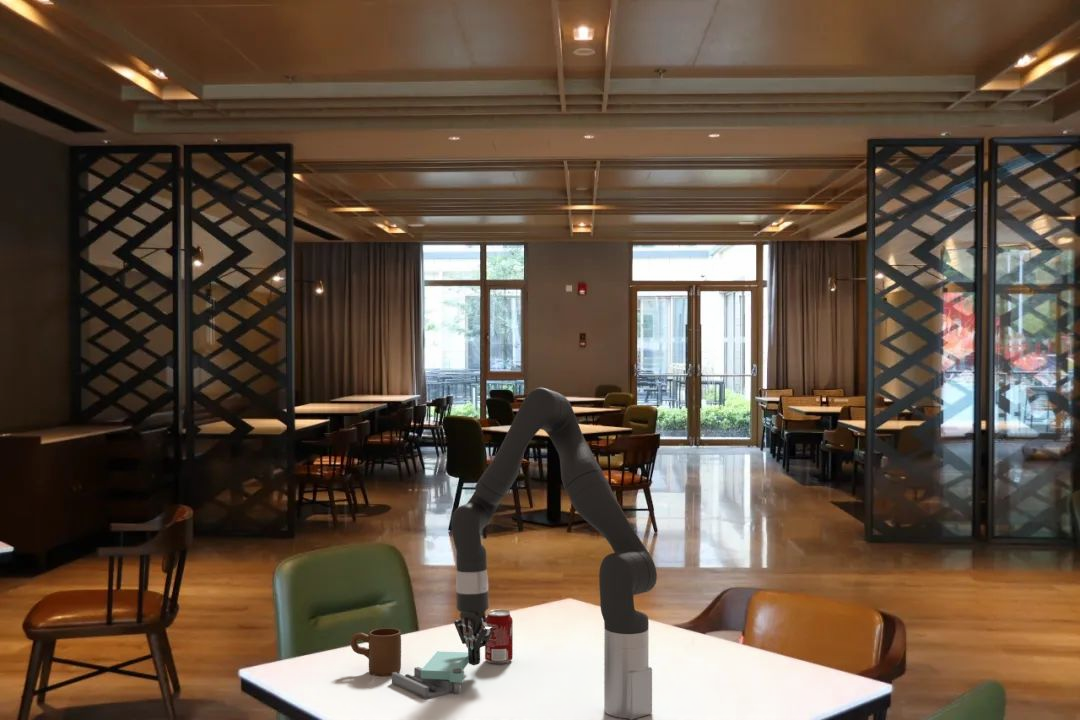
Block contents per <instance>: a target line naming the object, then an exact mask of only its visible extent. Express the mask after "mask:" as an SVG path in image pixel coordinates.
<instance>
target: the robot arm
mask: <svg viewBox="0 0 1080 720" xmlns="http://www.w3.org/2000/svg"><path fill="white" fill-rule="evenodd" d="M540 430H543V431H544V432H545V433H546V434H547V436H549V439H550V440H551V442H552V444H553V446H554V448H555V450H556V452H557V453H558V457H559V465H560V466H559V467H560V477H561V481H562V485H563V488H564V491H565V492H566V495H567V496H568V498H569V499H568V500H570V502H571V504H572V506H573V508H574V510H575V511H576V513H578V515H579V516H581V518H583V520H584V521H586V522H587V523H588V524H589V525H591V527H592V528H594V529H595V530H597V532H598V533H600V534H601V536H603V537H604V538H605V540H606V541H607V542H608V544H609V545H610V547H611V549H612V550H613V552H612V553H609V554H606V556H605V557H604V558H603V559H602V561H601V563H600V567H599V573H598V577H599V578H598V582H599V583H598V584H599V603H600V612H601V616H602V619H603V626H604V628H603V630H604V633H603V634H604V635H603V637H604V639H603V640H604V643H603V644H604V645H603V646H604V648H603V650H604V651H603V653H604V654H603V655H604V658H603V659H604V664H603V665H604V670H603V671H604V675H603V677H604V678H603V679H604V681H603V683H604V688H603V690H604V693H603V695H604V707H603V708H604V709H603V710H604V713H605V714H607V715H609V716H612V717H614V718H621V719H628V720H636V719H639V718H642V717H645V716H648V715H651V714H652V715H653V669H652V667H651V666H649V643H650V642H649V637H650V636H649V629H650V628H649V616H648V614H646V613H645V612H643V611H640V610H637V609H635V603H634V602H635V601H634V596H636V595H641V594H644V593H648V592H650V591H652V590H653V588H654V587H655V586H656V584H657V580H658V579H657V577H658V574H657V568H656V564H655V562H654V559H653V558H652V556H651V555H650V553H649V551H648V549H647V548H646V547H645V545H644V543H643V541H642V540H641V539H640V537H639V536H638V534H637V533H636V531H635V529H634V528H633V526H632V525H631V523H630V521H629V519H628V518H627V517H626V514H625V512H624V511H623V509H622V507H621V505H620V504H619V502H618V500H617V498H616V496H615V494H614V492H613V490H612V488H611V485H610V483H609V481H608V480H607V478H606V476H605V474H604V472H603V470H602V468H601V466H600V465H599V463H598V461H597V459H596V457H595V456H594V453H593V452H592V450H591V448H590V446H589V444H588V443H587V440H586V439H585V437H584V434H583V433H582V430H581V427H580V425H579V421H578V420H577V417H576V413H575V412H574V409H573V407H572V404H571V403H570V401H569V399H567V397H566V396H565V395H563V394H561V393H559V392H557V391H554V390H551V389H549V388H544V387H537V388H534V389H532V390H531V391H529V392H528V393H527V395H526V396H525V397H524V399H523V400H522V403H521V404H520V406H519V408H518V410H517V412H516V415H515V416H514V418H513V421H512V422H511V425H510V427H509V429H508V431H507V432H506V435H505V437H504V439H503V441H502V443H501V445H500V447H499V448H498V449H497V450H498V451H497V452H496V454H495V455H494V457H493V458H492V460H491V462H490V463H489V465H488V466H487V467H486V469H485V471H483V473H482V474H481V476H480V478H479V479H478V481H477V482H476V484H475V487H474V490H475V491H474V492H473V494H472V496H471V497H470V498H469V500H468V502H467V503H465V504H462V505H460V506H458V507H457V508H456V509H455V510H454V511H453V513H452V516H451V521H450V522H451V524H450V525H451V533H452V538H453V539H452V540H453V543H454V547H455V550H456V551H455V552H456V555H455V556H456V575H455V576H456V578H455V591H456V592H455V596H456V610H457V611H458V612H460V613H459V618H458V619H457V620H454V621H453V623H454V627H455V629H456V631H457V633H458V636H459V638H460V641H461V643H462V644H463V645H464V644H465V648H467V653H468V660H469V663H468V665H471V666H477V665H479V664H480V663H481V648H483V647H485V646H486V644H487V642H488V640H489V638H490V636H491V634H492V632H493V628H492V627H488V625H487V624H486V617H487V615H486V611H487V610H488V609H489V608H490V602H489V601H490V597H489V576H488V571H487V570H488V569H487V550H486V546H485V545H483V544H482V539H481V537H482V536H481V531H482V530H483V529H485V528H486V526H487V525H488V524H489V523H490V521H491V519H492V518H493V516H494V514H495V513H496V510H497V508H498V507H499V504H500V503H501V501H502V500H503V498H505V496H506V495H507V493H508V492H509V490H510V489H511V487H512V486H513V484H514V482H516V480H517V478H518V475H519V473H520V471H521V467H522V462H523V458H524V456H525V455H524V454H525V452H526V449H527V447H528V446H529V443H530V442H531V440H532V439H534V437H535V435H536V434H537V433H538V432H539V431H540Z"/></svg>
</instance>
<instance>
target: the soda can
mask: <svg viewBox="0 0 1080 720" xmlns="http://www.w3.org/2000/svg"><path fill="white" fill-rule="evenodd" d="M513 622H514V621H513V617H512V616H511V612H510V611H509V610H507V609H492V610H489V611H487V615H486V624H487V625H488V627H492V628H493V632H492V634H491V636H490V638H489V640H488V642H487V644H486V646H484V659H485V661H486V662H488V663H490V664H493V665H504V664H507V663H509V662H510V661H512V660H513V657H514V656H513V647H514V646H513V640H514V639H513V638H514V637H513V624H514V623H513Z"/></svg>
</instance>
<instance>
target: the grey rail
mask: <svg viewBox="0 0 1080 720" xmlns="http://www.w3.org/2000/svg"><path fill="white" fill-rule="evenodd" d="M422 668H423V667H420V666H417V667H414V670H413V673H414V675H411V674H409V673H407V674H405V675H403V674H401V673H400V672H398V673H397V672H393V673H392V675H391V684H392V685H394V686H396V687H398V688H401V689H403V690H405V691H407V692H409V693H411V694H413V695H416V696H417V697H420V698H422V699H423V700H427V699H432V698H435V697H441V696H445V695H449V694H451V693H453V694H457V695H458V694H460V693H461V683H460V682H450V680H445V679H424V678H421V670H422Z"/></svg>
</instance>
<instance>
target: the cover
mask: <svg viewBox="0 0 1080 720" xmlns="http://www.w3.org/2000/svg"><path fill="white" fill-rule="evenodd" d="M468 665H469V660H468V652H459V651H441V650H440V651H438V650H437V651H436V652H435V653H434V654H433V656H432V657H431V658H429V661H427V663H425V664H424V666H423V667H421V668H422V670H421V678H424V679H445V680H449V681H450V682H452V683H454V682H460V684H461V683H463V681H464V679H465V668H466V667H467V666H468Z"/></svg>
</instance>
